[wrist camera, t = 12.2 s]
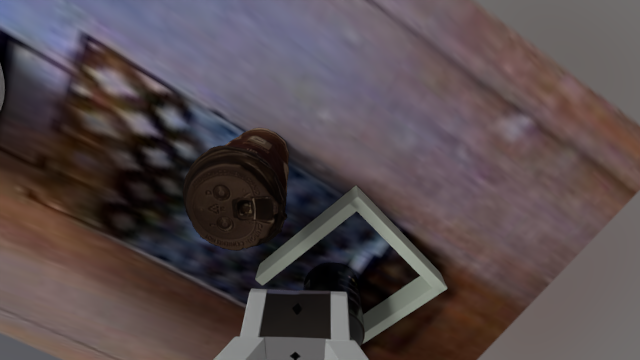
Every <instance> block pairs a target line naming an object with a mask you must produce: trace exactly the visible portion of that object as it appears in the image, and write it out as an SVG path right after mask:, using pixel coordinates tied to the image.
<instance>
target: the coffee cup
mask: <svg viewBox="0 0 640 360" xmlns="http://www.w3.org/2000/svg"><path fill="white" fill-rule="evenodd" d="M288 158H289V152H288V150H287V146H286V143H285V141H284V140H283V139H282V138H281V137H279V136H278V135H277V134H276V133H275V132H272V131H270V130H269V129H264V128H255V129H252V130H249V131H247V132H244V133H243V134H241V135H240V136H239V137H237V138H235V139H233V140H232V141H230V142H229V143H228V144H226V145H225V146H217V147H213V148H211V149H209V150H208V151H207V152H205V153H204V154H202V155H201V156H200V157H199V158H198V159H197V160H196V161H195V162H194V163H193V165H192V166H191V168H190V170H189V172H188V174H187V175H186V178H185V182H184V189H183V199H184V205H185V208H186V212H187V215H188V217H189V219H190V220H191V221H192V225H193V227H194V229H195V230H196V232H198V234H199V235H200V236H201V237H202V238H203V239H206V241H208V242H209V243H211V244H214V245H216V246H220V247H221V248H223V249H229V250H241V249H242V248H249V247H253V246H258V245H260V244H262V243H265V242H267V241H269V240H271V239H272V238H274V237H275V236H276V235H277V234H278V233H280V232H282V230H281V228H282V227H283V224H284V220H285V219H286V218H287V214H286V213H285V206H286V196H287V180H288V173H289V167H288Z"/></svg>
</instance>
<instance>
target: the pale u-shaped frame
mask: <svg viewBox="0 0 640 360" xmlns="http://www.w3.org/2000/svg"><path fill="white" fill-rule="evenodd" d="M356 211H357V212H358V213H359V214H360V215H361V216H362V217H363V218H364V219H365V220H366V221H367V222H368V223H369V224H370V225H371V226H372V227H373V228H374V229H375V230H376V231H377V232H378V233H379V234H380V235H381V236H382V237H383V238H384V239H385V240H386V241H387V242H388V243H389V244H390V245H391V246H392V247H393V248H394V249H395V250H396V251H397V252H398V253H399V254H400V255H401V256H402V257H403V258H404V259H405V260H406V261H407V262H408V263H409V264H410V265H411V266H412V267H413V269H414V270H415V271H416V272H417V273H418V274H419V275H420V276H419V277H418V278H416V279H415V280H413V281H412V282H410V283H409V284H408V285H406V286H405V287H403V288H402V289H400V290H399V291H397V292H396V293H394V294H393V295H391V296H390V297H388V298H387V299H386V300H384V301H383V302H381V303H380V304H378V305H377V306H375V307H374V308H372V309H371V310H369V311H368V312H366V313H365V314H364V315H363V320H364V328H365V337H364V341H363V343H365V342H367V341H368V340H370V339H371V338H373V337H374V336H376V335H377V334H379V333H380V332H382V331H383V330H385V329H386V328H388V327H390V326H391V325H393V324H394V323H396V322H397V321H399V320H400V319H402V318H403V317H405V316H406V315H408V314H409V313H411V312H413V311H414V310H416V309H417V308H419V307H420V306H422V305H423V304H425V303H426V302H428V301H429V300H431V299H432V298H434V297H435V296H437V295H439V294H440V293H442V292H443V291H445V290H446V289H448V288H447V286H446V284H445V282H444V280H443V278H442V275H441V273H440V272H439V271H438V270H437V269H436V268H435V267H434V266H433V265H432V264H431V262H430V261H429V260H428V259H427V258H426V257H425V256H424V255H423V254H422V253H421V252H420V251H419V250H418V249H417V248H416V247H415V246H414V245H413V244H412V243H411V242H410V241H409V240H408V239H407V237H406V236H405V235H404V234H403V233H402V232H401V231H400V230H399V229H398V228H397V227H396V226H395V225H394V224H393V223H392V222H391V221H390V220H389V219H388V218H387V217H386V216H385V215H384V214H383V213H382V211H381V210H380V209H379V208H378V207H377V206H376V205H375V204H374V203H373V202H372V201H371V200H370V199H369V198H368V197H367V196H366V195H365V194H364V193H363V192H362V191H361V190H360V189H359V188H358V187H357V185H356V186H354V187H353V188H352V189H351V190H350V191H348V192H347V193H346V194H345V195H343V196H342V197H341V198H340V199H339V200H337V201H336V202H335V203H334V204H332V205H331V206H330V207H329V208H328V209H326V210H325V211H324V212H323V213H321V214H320V215H319V216H318V217H317V218H315V219H314V220H313V221H312V222H310V223H309V224H308V225H307V226H306V227H304V228H303V229H302V230H301V231H299V232H298V233H297V234H296V235H295V236H293V237H292V238H291V239H290V240H288V241H287V242H286V243H285V244H284V245H282V246H281V247H280V248H279V249H277V250H276V251H275V252H274V253H273V254H271V255H270V256H269V257H268V258H266V259H265V260H264V261H263V262H262V263H260V265H259V268H258V271H257V274H256V278H255V280H256V281H257V282H259V283H260V284H261V285H262V286H263V285H264V284H265V283H267V282H268V281H269V280H270V279H272V278H273V277H274V276H275V275H277V274H278V273H279V272H280V271H282V270H283V269H284V268H286V267H287V266H288V265H289V264H291V263H292V262H293V261H294V260H296V259H297V258H298V257H299V256H301V255H302V254H303V253H304V252H306V251H307V250H308V249H310V248H311V247H312V246H313V245H315V244H316V243H317V242H318V241H320V240H321V239H322V238H323V237H325V236H326V235H327V234H329V233H330V232H331V231H332V230H334V229H335V228H336V227H337V226H339V225H340V224H341V223H342V222H344V221H345V220H346V219H347V218H349V217H350V216H351V215H353V214H354V213H355V212H356Z"/></svg>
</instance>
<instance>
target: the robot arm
mask: <svg viewBox="0 0 640 360" xmlns="http://www.w3.org/2000/svg"><path fill="white" fill-rule="evenodd" d="M4 94H5V83H4V76H3V71H2V67H1V64H0V110H1V108H2V105H3V101H4ZM214 360H369V359H368V358H367V356H366V355H365V354H364V352H363V351H362V349H361V348H360V347H359V345H358V344H357V343H356V341H355V340H350V330H349V314H348V298H347V293H346V292H334V291H331V292H330V291H304V290H299V291H289V290H273V289H251V291H250V293H249V297H248V302H247V306H246V311H245V316H244V320H243V325H242V329H241V334H240V337H234V338H233V339H232V340H231V341H230V343H229V344H228V345H227V346H226V347H225V348H224V349H223V350H222V351H221V352H220V353H219V354H218V355H217V356H216V358H215V359H214Z"/></svg>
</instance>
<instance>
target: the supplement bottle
mask: <svg viewBox="0 0 640 360" xmlns="http://www.w3.org/2000/svg"><path fill="white" fill-rule="evenodd" d="M303 290H304V291H330V292H331V291H334V292H346V293H347V298H348V314H349V330H350V340H355V341H356V343H357V344H358V345H359V347H361V346H362V344H363V341H364V337H365V328H364V320H363V313H362V305H361V298H360V290H359V284H358V280H357V277H356V275H355V274H354V273H353V271H352V270H351V269H349V268H348V267H346V266H344V265H342V264H339V263H323V264H320V265H318V266H316V267H314V268H313V269H312V270H311V271H310V272H309V273H308V274H307V276H306V278H305V281H304V288H303Z"/></svg>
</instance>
